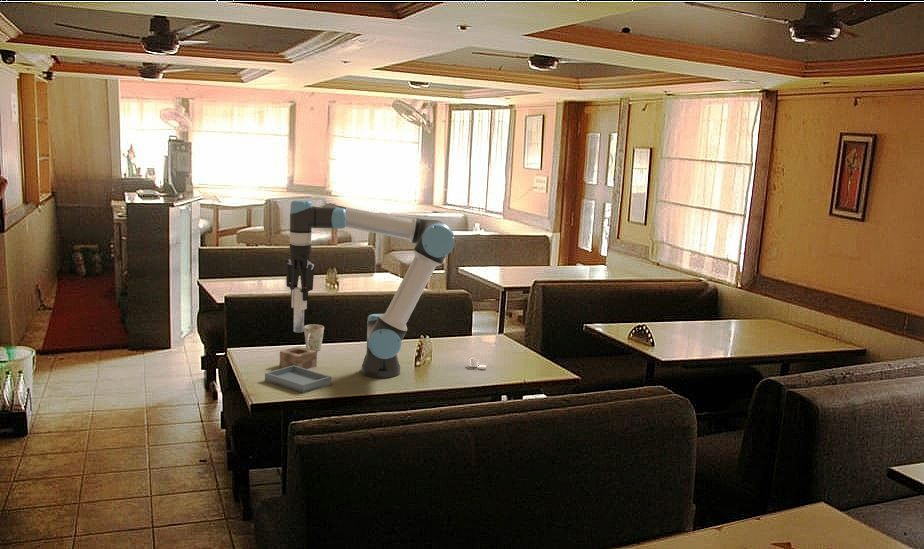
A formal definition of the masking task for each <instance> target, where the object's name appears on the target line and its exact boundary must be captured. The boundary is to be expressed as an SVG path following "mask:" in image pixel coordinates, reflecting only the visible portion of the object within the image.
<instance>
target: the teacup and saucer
mask: <svg viewBox="0 0 924 549" xmlns="http://www.w3.org/2000/svg"><path fill="white" fill-rule="evenodd" d="M479 360H480V358H478V357H471V358H469V360H468V361H469V364H471V365H470V366H471V368H472V367H477V368H476V369H478V368H479V369H482V370H485V369H486V368H487V365H485V364H479ZM478 365H479V366H478Z"/></svg>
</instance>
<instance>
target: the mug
mask: <svg viewBox="0 0 924 549" xmlns="http://www.w3.org/2000/svg"><path fill="white" fill-rule="evenodd" d="M324 330H325V326H324V325H322V324H314V323H313V324H306V325H304V339H305V340H304V341H305V348H306V349H310V350H313V351H317V352H320V351H321V350H322V343H323V338H324Z"/></svg>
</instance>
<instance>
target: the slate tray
mask: <svg viewBox="0 0 924 549" xmlns="http://www.w3.org/2000/svg"><path fill="white" fill-rule="evenodd" d="M332 380H333V378H332V376H330V375H327V374H324V373H321V372H318V371H315V370H311V369H305V368H301V367H298V366H295V365H293V366H289V367H285V368H284V367H281V368H280V369H275V370H271V371H268V372H265V373H264V381H265V382H267V383H269V384H273V385H277V386H279V387H281V388H285V389H289V390H291V391H295V392H298V393H301V394H306V393H309V392H312V391H315V390H318V389H319V390H320V389H321V388H324V387H328V386H332V382H333V381H332Z"/></svg>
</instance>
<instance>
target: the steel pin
mask: <svg viewBox="0 0 924 549" xmlns="http://www.w3.org/2000/svg"><path fill="white" fill-rule="evenodd" d="M300 291H302V287H301V286H297V287H295V288H294V308H293V332H294V333H300V334H301V333H303V332H304V326H305V309H304V310H300Z"/></svg>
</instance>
